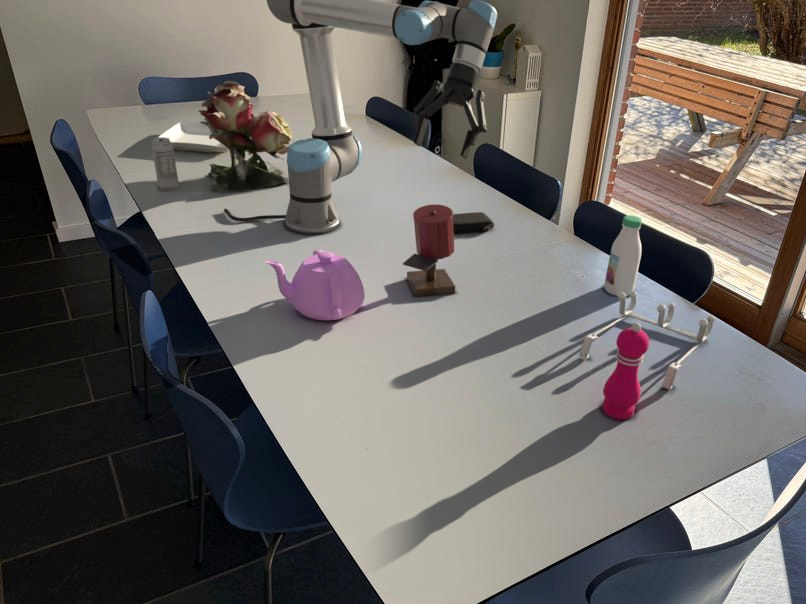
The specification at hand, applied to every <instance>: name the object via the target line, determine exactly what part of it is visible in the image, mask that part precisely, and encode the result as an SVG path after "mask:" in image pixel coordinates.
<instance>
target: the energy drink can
mask: <svg viewBox="0 0 806 604" xmlns="http://www.w3.org/2000/svg"><path fill="white" fill-rule="evenodd" d="M157 137H158V138H157ZM157 137H154V138H152V143H151V144H150V145H151V152H152V157H153V162H154V163H153V164H154V170H155V175H156V180H157V186H158V187H160V189H161V190H163V191H173V190H176V189H177V188H178V186H179V184H180V183H179V176H178V171H177V165H176V158H175V152H174V149H173V145H172V143H171V142H170V139H169V138H165V137H159V136H157Z"/></svg>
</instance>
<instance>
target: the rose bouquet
mask: <svg viewBox="0 0 806 604" xmlns="http://www.w3.org/2000/svg"><path fill="white" fill-rule="evenodd" d="M245 88H246V87H245V86H243V85H240V84H239V82H237V81H229V80H228V81H225V82H224V83H219V84H218V85H217V86H216V87H215V88H214V92H213V93H211V92H210V91H207V92H206V95H207V96H209V97H210V99H209V98H208V99H206V100H204V101H203V102H202V104H201V107H206V109H199V110H198V111H197V112H198V113H199V115H200V116H201V117H204V118H203V121H202V120H201V121H199V123H201V124H202V125H204V126H208V127H209V129H210V131H211V133H212V134H211V135H210V136H209V139H212V138H214V139H215V140H217V141H219V142H220V143H221V144H223V145H224V146H225V147H227V148H228V149H229V151H228V152H229V156H230V161H231V164H230V166H225V165H220V164H219V165H218V164H215V163H210V164H208V166H210V171H209V172H208V174H207V176H208V177H212V178H213V181H212V182H211V183H209V182H208V183H207V184H208V185H209V187H210V188H211V189H212V190H213V192H218V193H219V192H220V193H232V192H241V191H248V190H254V189H257V188H262V187H265V188H266V187H274V186H279V185H280V184H283V183H284V184H289V181H287V178H286V177H283V176H282V175H280V174H281V172H280V171H279V170H278V169H277V168H276V167H275V166H274V165H273V164H272V163H271V162H269V161H265V160H263V158H262V156H261V155H259V153H267V154H268V155H270V156H271V157H273V158H275V159H281V160H282V161H284V158H282V157H281V156H279V155H277V154H280V155H285V154H287V150H288V148H289V146H290V145H291V144H292V141H291V140H292V138H293V132H292V131H293V130H292V129H291V126H290V124H289V123H288V122H286V121H285V120H284V118H283V116H282V115H280V114H278V113H277V112H276V111H270V110H265V111H262V112H260V113H259V114H258V115H257V116H256V115H254V113H252V112H253V109H254V104H253V103H252V102H251V100H252V98H251V96H249V95H248V94H246V93H245ZM286 145H289V146H286ZM246 152H247V154H248V156H250V157H249V158H248V159H246Z"/></svg>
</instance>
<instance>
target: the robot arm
mask: <svg viewBox="0 0 806 604" xmlns="http://www.w3.org/2000/svg"><path fill="white" fill-rule="evenodd" d="M266 4H267V7H268V9H269V11H270V12H271V14H272V15H273V16H274V18H276V19H277V20H278V21H280V22H282V23H285V24H288V25H289V24H290V25H291V27H292V31H294V32H295V33H296V34H297V35H298V36H299V40H300V46H301V52H302V57H303V63H304V69H305V74H306V80H307V86H308V90H309V96H310V102H311V108H312V115H313V119H314V120H313V121H314V127H313V129H312V131H311V133H310V134H311V138H305V139H300V140H296V141H294V142H293V143H292V142H291V145H289V146H288V147H289V148H288V150H287V153H286V165H287V175H288V187H289V189H288V190H289V202H288V206H287V209H286V213H285V214H273V215H272V214H270V215H269V214H268V215H266V214H265V215H257V216H250V217H238V216H234V215H232V213H231V212H230V211H229V210H228V208H224V209H223V211H224V213H225V214H226V215H227V216H228V218H230V219H231V220H233V221H236V222H250V221H257V220H271V219H273V220H275V219H277V220H278V219H284V221H285V222H284V224H285V227H286V228H287V229H288V230H290V231H291V232H294V233H297V234H305V235H321V234H326V233H330V232H332V231H334V230H336V229H338V227H339V226H340V217H339V214H338V212H337V209H336V207H335V204H334V201H333V196H332V195H333V194H332V183H333V182H335V181H337V180H339V179H342V178H343V177H346V176H349V175H350V174H352V173H353V172H354V171H356V169H357V168H358V167H359V166H360V165H361V162H362V160H363V148H362V144H361V142H360V140H359V139H358V138H357V137H356V136H355V134H353V130H352V127H351V126H350V125H349V124H347V122H346V119H345V112H344V106H343V99H342V93H341V86H340V80H339V73H338V67H337V61H336V55H335V47H334V41H333V34H332V32H333V31H334V30H335V28H339V29H343V30H349V31H354V32H358V33H359V32H360V33H366V34H369V35H375V36H379V37H386V38H392V39H395V40H396V39H397V40H400V41H401V42H402V43H403V44H406V45H408V46H415V45H416V46H419V45H423V44H425V43H427V42H430V41H434V40H437V39H448V40H454V41H457V44H456V47H455V50H454V53H453V57H452V63H451V64H450V67H449V70H448V73H447V76H446V82H444V83H443V82H440V81H439V80H437V79H435V80H434V81H433V83H432V85H431V88H430V89H429V90H428V91H427V93H425V95H424V96H423V97H422V99H421V100H420V101H419V102H418V104H416V106H415V107H414V108H413V110H412V113H414V114H415V115H416V116H417V117H418V118H417V121H416V125H415V131H416V134H415V138H414V141H413V144H414V145H416V146H418V147H422V144H423V141H424V138H425V134H426V131H427V127H428V124H429V121H428V120H427V119H428V118H430V117H431V116H433V115H434V114H435V113H436V112H438V111H439V110H440V109H441V108H443V107H444V106H446V105H448V104H450V105H452V106H458V107H459V108H462V107H463V109H464V112H465V115H466V117H467V120H468V124H469V126H470V129H467V133H466V136H465V138H464V142H463V146H462V149H461V152H460V157H462V158H463V159H465V160H468V157H469V154H470V151H471V149H472V148H471V147H472V146H473V147H474V146H475V145H476V142H477V138H478V136H479V134H480V133H484V134H486V133H487V132H488V126H487V120H486V119H487V118H486V111H485V109H486V108H485V99H486V94H485V93H484V92H483V91H482V90H481V89H478V90H475V89H476V87H477V85H478V81H479V78H480V72H481V71H482V69H483V65H484V61H485V58H486V55H487V51H488V48H489V45H490V43H491V40H492V37H493V33H494V31H495V27H496V22H497V18H498V12H497V10H496V8H495V7H494V6H493V5H491V4H490V3H489V2H486V1H483V0H471V1H470V2H469V4H468V6H467V8H462V7H458V6H453V5H449V4H444V3H441V2H439V1H436V0H435V1H432V0H423V1H421V3H420V4H419V6H418V7H415V6H409V5H404V4H403V5H402V4H398V3H392V2H386V1H381V0H266ZM442 91H443V92H442ZM440 92H442V93H441V94H440ZM439 94H440V95H439ZM438 95H439V96H438ZM437 97H438V98H437ZM473 98H474V100H475V105H476V107H475V108H476V115H477V119H476V117H475V114H474V111H473V109H472V104H471V102H470V101H471V100H472V99H473Z"/></svg>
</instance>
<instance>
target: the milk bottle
mask: <svg viewBox="0 0 806 604" xmlns="http://www.w3.org/2000/svg"><path fill="white" fill-rule="evenodd" d="M642 222H643V220H642V218H641V217H639V216H637V215H631V214H630V215H624V216H623V218H622V223H621V226H622V228H621V230H620V232H619V234H618V235H617V237H616V238H615V239H614V241H613V243H612V246H611V250H610V253H609V258H608V263H607V269H606V274H605V280H604V285H603V287H604V290H605V291H606V293H608V294H610V295H613V296H616V297H617V295H618V293H619V292H624V293H625V294H626V297H629V296H630V293H631V292H632V291H635V287H636V282H637V277H638V274H639V273H638V272H639V269H640V268H639V267H640V262H641V258H642V249H643V248H642V243H641V242H642V241H641V238H640V229H641V226H642Z"/></svg>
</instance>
